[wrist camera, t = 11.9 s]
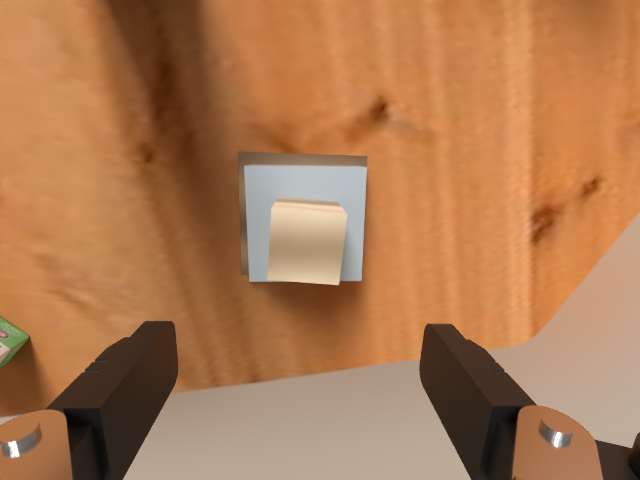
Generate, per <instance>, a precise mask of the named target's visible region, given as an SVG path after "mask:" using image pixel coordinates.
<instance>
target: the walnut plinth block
mask: <svg viewBox="0 0 640 480" xmlns="http://www.w3.org/2000/svg"><path fill="white" fill-rule="evenodd" d="M247 165H323V166H362V167H367V156H349V155H320V154H291V153H263V152H238V173H239V207H240V240H241V273H242V275H249V260H248V239H247V217H246V195H245V173H244V166H247Z"/></svg>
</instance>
